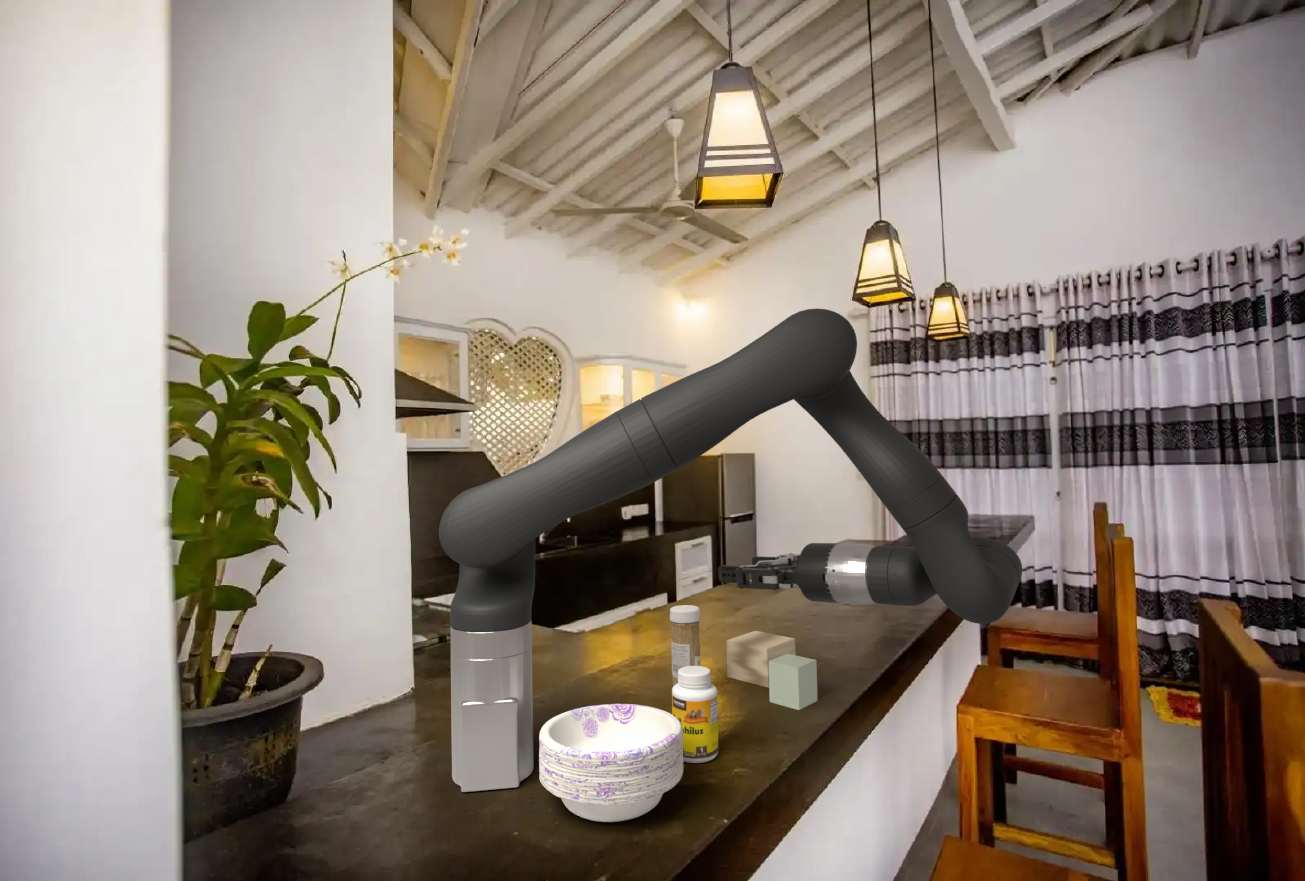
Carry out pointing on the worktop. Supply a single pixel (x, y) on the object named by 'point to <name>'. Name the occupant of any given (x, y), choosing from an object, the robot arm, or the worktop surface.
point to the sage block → (793, 681)
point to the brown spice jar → (684, 638)
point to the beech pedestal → (755, 655)
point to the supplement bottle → (696, 713)
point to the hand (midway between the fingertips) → (737, 568)
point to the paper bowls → (611, 759)
